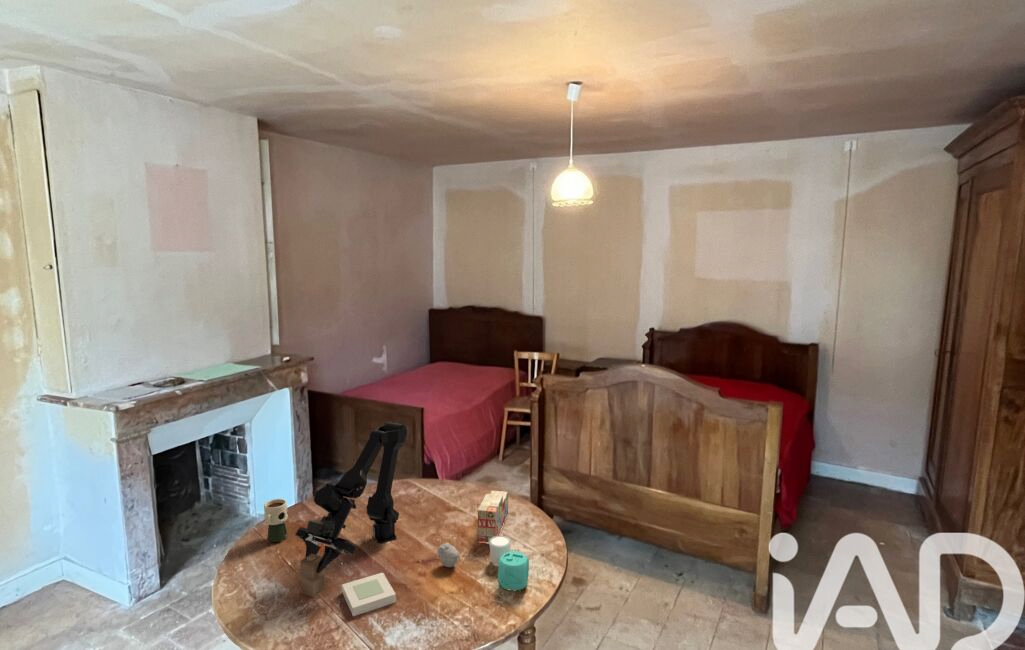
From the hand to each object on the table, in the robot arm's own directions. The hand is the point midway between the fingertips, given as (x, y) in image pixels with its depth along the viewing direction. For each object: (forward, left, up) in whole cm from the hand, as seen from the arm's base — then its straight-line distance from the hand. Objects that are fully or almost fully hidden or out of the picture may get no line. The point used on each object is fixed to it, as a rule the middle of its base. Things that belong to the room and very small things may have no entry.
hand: (311, 570), depth 160 cm
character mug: (+5, -36, -7) cm, 37 cm away
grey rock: (-39, +8, -7) cm, 41 cm away
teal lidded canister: (-52, +26, -7) cm, 59 cm away
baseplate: (-13, +11, -7) cm, 18 cm away
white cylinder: (-54, +14, -7) cm, 56 cm away
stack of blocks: (-62, -5, -7) cm, 63 cm away
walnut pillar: (0, 0, -7) cm, 7 cm away
